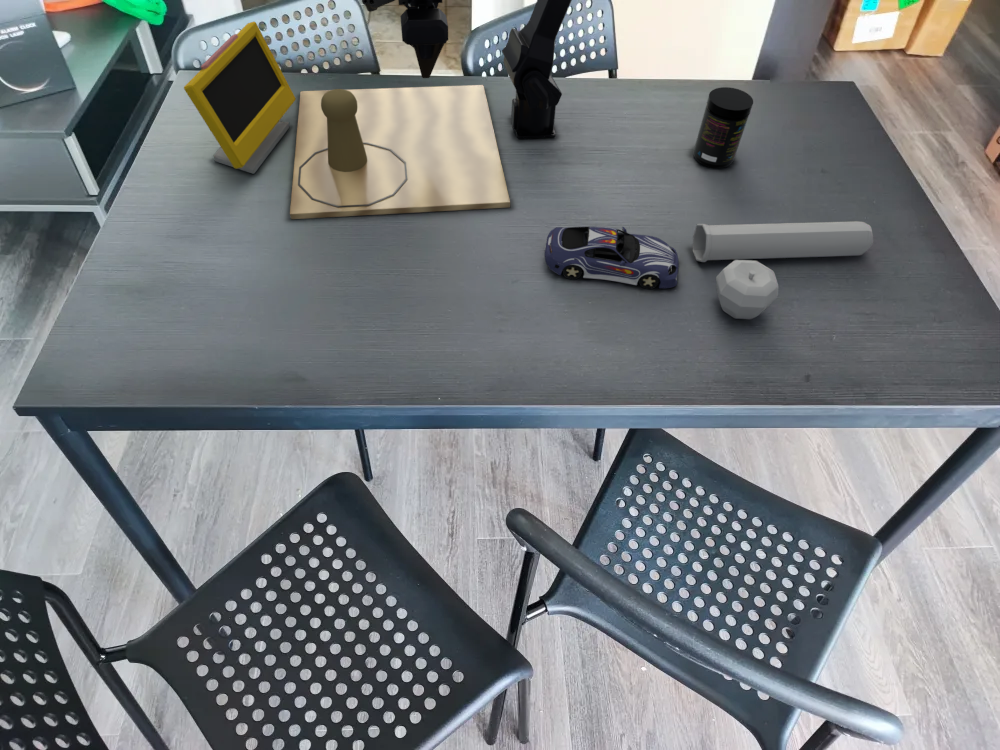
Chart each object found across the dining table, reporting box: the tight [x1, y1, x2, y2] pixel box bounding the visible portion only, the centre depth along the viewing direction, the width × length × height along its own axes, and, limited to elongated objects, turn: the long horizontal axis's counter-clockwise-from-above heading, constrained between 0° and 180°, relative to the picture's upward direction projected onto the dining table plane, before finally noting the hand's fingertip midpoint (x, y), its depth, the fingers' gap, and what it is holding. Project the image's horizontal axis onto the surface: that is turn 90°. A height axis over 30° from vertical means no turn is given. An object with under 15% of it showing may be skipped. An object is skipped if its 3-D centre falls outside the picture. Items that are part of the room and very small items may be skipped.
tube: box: [691, 220, 875, 263], centre depth 99 cm, size 5×5×25 cm
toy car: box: [543, 225, 680, 290], centre depth 96 cm, size 8×18×5 cm, turn 82°
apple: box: [715, 259, 779, 320], centre depth 90 cm, size 8×8×7 cm
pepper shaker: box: [321, 88, 367, 172], centre depth 105 cm, size 6×6×11 cm
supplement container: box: [692, 86, 754, 169], centre depth 111 cm, size 7×7×10 cm
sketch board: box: [289, 84, 511, 220], centre depth 113 cm, size 32×34×1 cm
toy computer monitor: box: [183, 21, 297, 174], centre depth 106 cm, size 20×8×16 cm, turn 168°
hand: (423, 62), depth 105 cm, fingers open, 9 cm apart
